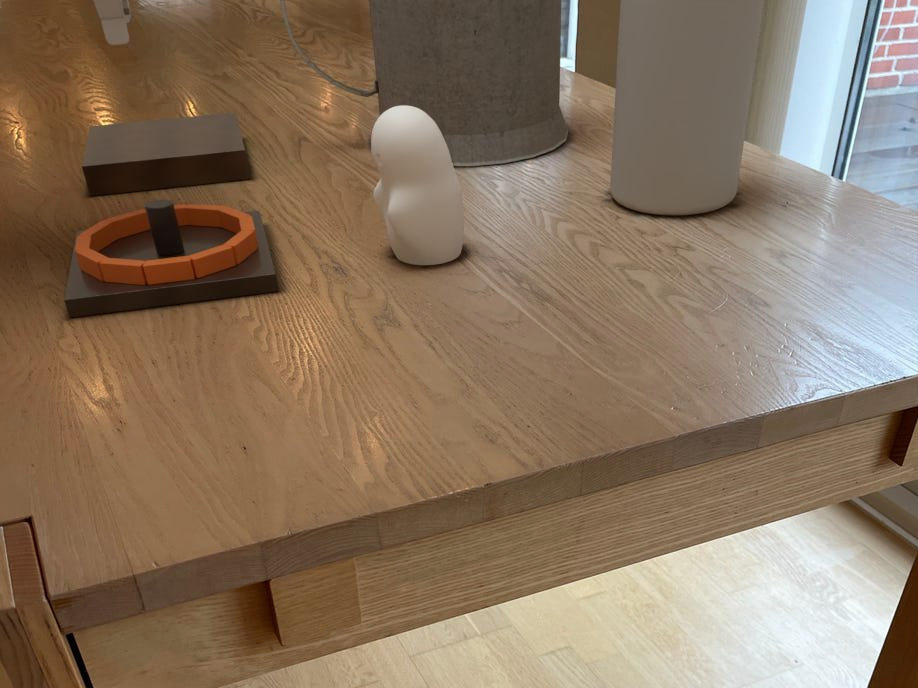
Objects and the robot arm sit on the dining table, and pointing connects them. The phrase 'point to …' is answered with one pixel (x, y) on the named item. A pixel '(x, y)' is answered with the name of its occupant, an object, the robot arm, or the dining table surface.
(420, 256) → the figurine
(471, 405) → the dining table surface
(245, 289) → the peg stand
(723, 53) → the cylinder vase
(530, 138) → the pitcher
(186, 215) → the ring
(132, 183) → the stand
